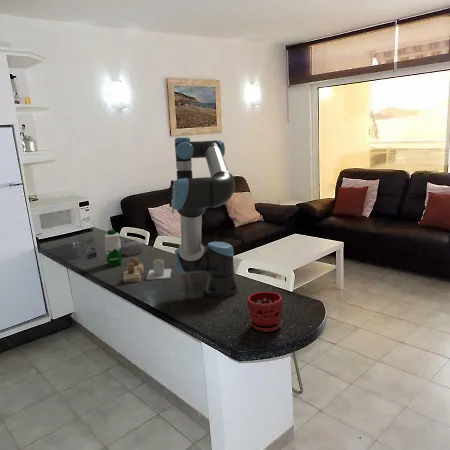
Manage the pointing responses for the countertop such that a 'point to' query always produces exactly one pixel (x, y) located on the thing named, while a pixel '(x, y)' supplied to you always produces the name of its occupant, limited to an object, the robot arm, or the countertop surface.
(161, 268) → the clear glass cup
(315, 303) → the countertop surface
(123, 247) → the small grey backpack
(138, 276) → the plane body
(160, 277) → the mat
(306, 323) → the countertop surface
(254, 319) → the plant pot
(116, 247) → the milk carton
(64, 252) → the countertop surface
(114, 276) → the countertop surface
